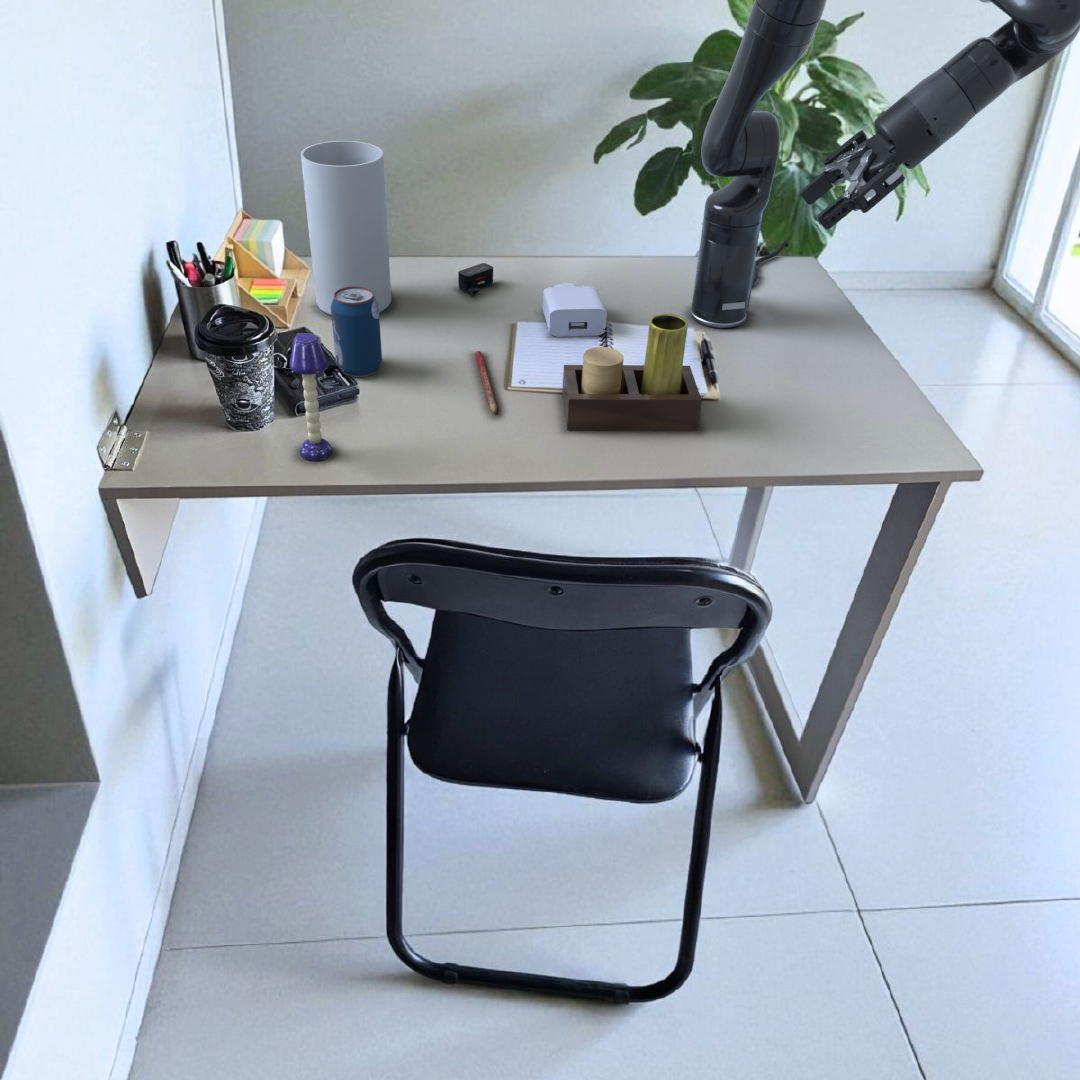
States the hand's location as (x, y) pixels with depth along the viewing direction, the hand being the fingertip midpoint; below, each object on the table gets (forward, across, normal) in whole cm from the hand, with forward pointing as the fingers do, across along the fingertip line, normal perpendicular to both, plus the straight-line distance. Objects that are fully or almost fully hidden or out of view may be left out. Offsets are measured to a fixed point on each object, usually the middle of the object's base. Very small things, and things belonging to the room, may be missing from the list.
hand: (812, 211), depth 132 cm
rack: (+36, -2, +7) cm, 37 cm away
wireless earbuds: (+52, -44, -8) cm, 68 cm away
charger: (+41, -34, +3) cm, 53 cm away
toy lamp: (+67, +8, -23) cm, 71 cm away
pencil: (+51, -10, -7) cm, 52 cm away
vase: (+33, -2, +10) cm, 35 cm away
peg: (+39, -2, +4) cm, 39 cm away
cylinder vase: (+66, -37, -23) cm, 79 cm away
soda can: (+64, -15, -21) cm, 69 cm away
